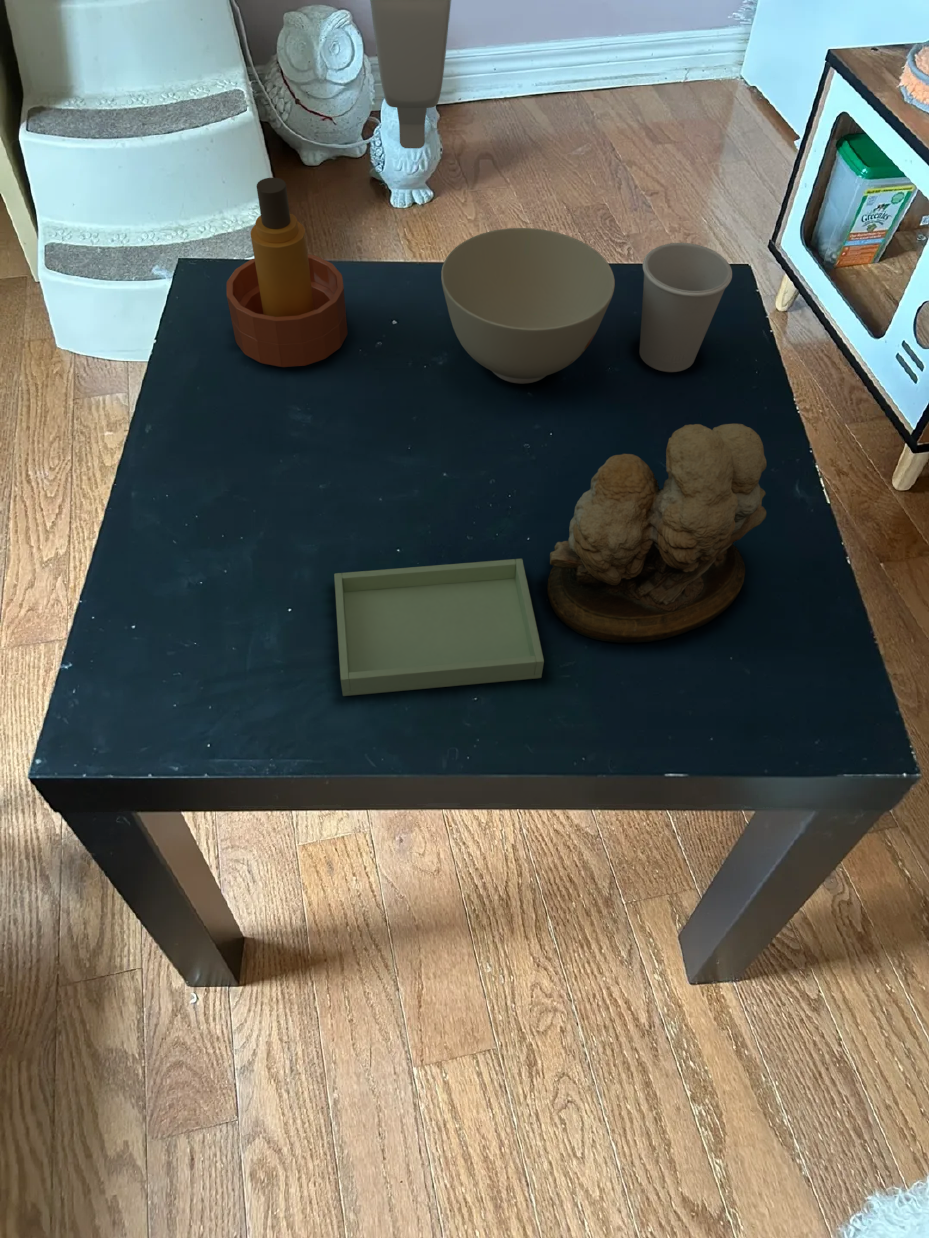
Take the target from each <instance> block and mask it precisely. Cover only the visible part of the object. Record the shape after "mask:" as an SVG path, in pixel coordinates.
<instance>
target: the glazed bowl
mask: <svg viewBox="0 0 929 1238" xmlns="http://www.w3.org/2000/svg"><path fill="white" fill-rule="evenodd" d="M308 261H309V270H310V279H311V287H312V296H313V305H314V311H311V312H308V313H305V314H301V315H298V316H284V317H273V316H268V315H264V314H263V308H262V302H261V296H260V289H259V283H258V277H257V271H256V265H255V259H254V258H251V259H249V260H248V261H246V262H245V263H243V264H241V265H240V266H238V267H237V268H235V269H234V271H233V272H232V274H231V275H230V276H229V278H228V279H227V281H226V299H227V304H228V309H229V315H230V319H231V324H232V325H231V326H232V329H233V336H234V341H235V343H236V345H237V346H238V347H239V348H240V350H241V351H242V353H243V354H244V355H245V356H246V357H249V358H250V359H252V360H254V361H256V362H258V363H259V364H264V365H270V366H273V367H280V368H291V367H304V366H308V365H311V364H314V363H317V362H321V361H323V360H325V359H327V358H329V357H330V356H331V355H333V353H335V352H337V351H338V350H339V349H341V347H342V345H343V344H344V341H345V340H346V338H347V336H348V323H347V321H348V320H347V311H346V300H345V299H346V298H345V287H344V279H343V274H342V273H341V272H340V271H339V269H337V267H336V266H335V265H334V264H333V263H332V262H330V261H328V260H326V259H324V258H322V257H320V256H318V255H315V254H309V253H308Z"/></svg>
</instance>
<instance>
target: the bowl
mask: <svg viewBox="0 0 929 1238" xmlns="http://www.w3.org/2000/svg"><path fill="white" fill-rule="evenodd" d="M443 261H444V262H443V263H442V267H441V272H440V276H441V287H442V290H443V294H444V299H445V303H446V307H447V311H448V316H449V318H450V321H451V322H450V323H451V325H452V328H453V331H454V334H455V336H456V337H457V338H456V339H458V341H459V343H460V345H461V346H462V348H463V349H464V350H465V352H466V353H467V354H468V355H469V356H470V357H471V358H472V359H473V360H474V361H475V362H476V363H478V364H479V365H480V366H482V367H483V368H485V369H487V370H489V371H491V372H492V373H493V374H494V375H495V376H496V377H498V378H500V379H501V380H503V381H505V382H508V383H511V384H517V385H518V384H519V385H520V384H521V385H525V384H526V385H527V384H533V383H536V382H538V381H541V380H543V379H544V378H545V377H547V376H550V375H552V374H555V373H558V372H560V371H561V370H563V369H566V368H567V367H569V366H570V365H571V364H573V363H574V362H575V361H577V360H578V358H580V357H581V356H582V355H583V353H584V352H585V351H586V350H587V349H588V347H589V346H590V344H591V343H592V342H593V339H594V338H595V336H596V333H597V332H598V329H599V327H600V325H601V323H602V322H603V319H604V317H605V314H606V312H607V310H608V308H609V305H610V303H611V301H612V299H613V295H614V292H615V287H616V285H615V284H616V280H615V276H614V272H613V269H612V267H611V266H610V264H609V263H608V261H607V260H606V258H604V256H603V255H602V254H600V253H599V252H598V251H597V250H596V249H594V248H593V247H592V246H591V245H588V244H587V243H585V242H584V241H582V240H579V239H577V238H575V237H572V236H570V235H567V234H564V233H561V232H557V231H554V230H549V229H543V228H533V227H532V228H531V227H511V228H500V229H494V230H490V231H486V232H482V233H480V234H477V235H475V236H471V237H470V238H468V239H466V240H464V241H463V242H461V243H460V244H458V245H457V246H456V247H454V248H453V249H452V250H451V251H450V252H449V253H448V255H447V256H446V258H445V260H443Z"/></svg>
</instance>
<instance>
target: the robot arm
mask: <svg viewBox="0 0 929 1238" xmlns="http://www.w3.org/2000/svg"><path fill="white" fill-rule="evenodd" d="M369 2H370V9H371V10H370V11H371V17H372V27H373V35H374V41H375V49H376V56H377V58H376V59H377V65H378V71H379V72H378V73H379V78H380V83H381V89H382V94H383V98H384V101H385V103H386V105H388V106H389V107H390V108H396V110H397V117H398V127H399V129H398V130H399V144H400V146H401V147H402V148H404V149H421V148H423V147H424V145H425V143H426V117H427V110H428V109H430V108H431V109H432V108H435V107H436V106H437V105H438V103H439V102H440V97H441V94H442V87H443V82H444V74H445V67H446V66H445V65H446V57H447V47H448V36H449V27H450V18H451V9H452V8H451V7H452V0H369Z"/></svg>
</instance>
